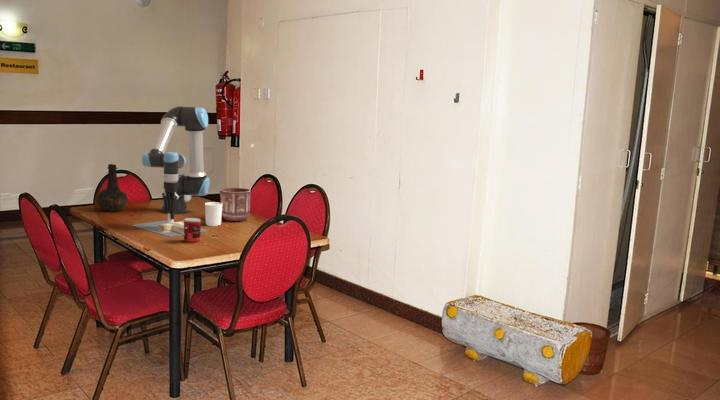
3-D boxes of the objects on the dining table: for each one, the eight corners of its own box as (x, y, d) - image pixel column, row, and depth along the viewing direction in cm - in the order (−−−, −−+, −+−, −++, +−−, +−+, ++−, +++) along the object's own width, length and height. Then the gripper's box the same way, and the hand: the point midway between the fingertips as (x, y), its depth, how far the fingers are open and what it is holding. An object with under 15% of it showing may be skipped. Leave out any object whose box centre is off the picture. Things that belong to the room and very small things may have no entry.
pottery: (230, 215, 372) (230, 186, 369) (255, 219, 366) (256, 189, 362) (213, 220, 355) (213, 190, 352) (239, 224, 349) (240, 193, 346)
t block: (184, 226, 335) (184, 221, 334) (201, 231, 326) (201, 225, 325) (158, 230, 322) (158, 224, 322) (175, 235, 313) (175, 229, 313)
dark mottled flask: (111, 206, 381) (111, 161, 376) (134, 209, 375) (134, 164, 370) (89, 210, 364) (88, 164, 360) (113, 214, 358) (112, 166, 354)
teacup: (186, 204, 403) (186, 192, 402) (171, 202, 405) (171, 190, 404) (196, 201, 417) (196, 189, 415) (181, 199, 419) (181, 188, 417)
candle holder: (225, 224, 347) (226, 203, 345) (216, 227, 338) (216, 205, 336) (210, 222, 350) (211, 201, 349) (200, 225, 341) (201, 203, 339)
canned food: (185, 239, 307) (185, 217, 305) (201, 239, 308) (201, 218, 306) (182, 242, 299) (182, 220, 298) (199, 243, 300) (199, 221, 298)
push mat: (169, 220, 350) (169, 219, 350) (209, 230, 328) (209, 230, 328) (131, 225, 331) (131, 225, 331) (170, 237, 309) (170, 236, 309)
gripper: (157, 180, 326) (157, 223, 330) (172, 183, 318) (172, 227, 322) (169, 179, 332) (169, 222, 335) (184, 182, 324) (184, 226, 328)
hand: (170, 224), depth 329 cm, fingers closed
